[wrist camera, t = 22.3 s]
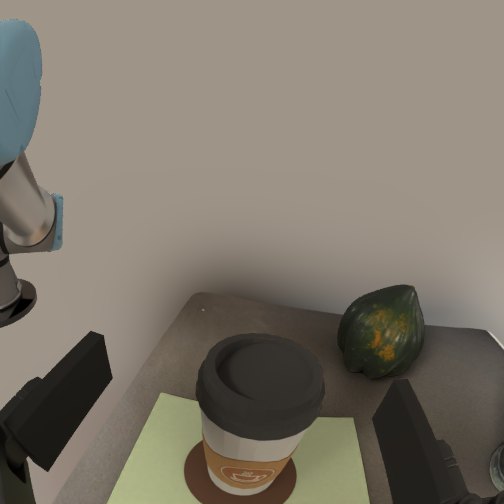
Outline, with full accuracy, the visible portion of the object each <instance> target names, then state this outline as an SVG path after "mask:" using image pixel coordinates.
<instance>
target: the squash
mask: <svg viewBox="0 0 504 504" xmlns="http://www.w3.org/2000/svg"><path fill="white" fill-rule="evenodd" d="M424 328H425V327H424V319H423V314H422V311H421V308H420V305H419V301H418V296H417V293H416V291H415V287H414V286H409V285H396V286H391V287H387V288H383V289H380V290H377V291H374V292H371V293H368V294H365V295H363V296H362V297H359V298H358V299H356V300H355V301H354V302H353V303H352V304H351V305H350V306H349V307H348V309H347V310H346V312H345V313H344V315H343V317H342V319H341V321H340V325H339V328H338V336H337V341H338V346H339V348H340V350H341V351H342V352H343V353H344V364H345V366H346V368H347V369H348V370H349V371H352V372H360V371H362V370H363V371H364V374H365V375H366V376H367V377H368V378H370V379H377V378H380V377H382V376H384V375H386V376H396V375H399V374H401V373H403V372H404V371H406V370H407V369H408V368H409V367H410V366H411V364H412V363H413V362H414V361H415V360H416V358H417V357H418V356H419V354H420V352H421V350H422V347H423V342H424V331H425V330H424Z"/></svg>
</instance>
